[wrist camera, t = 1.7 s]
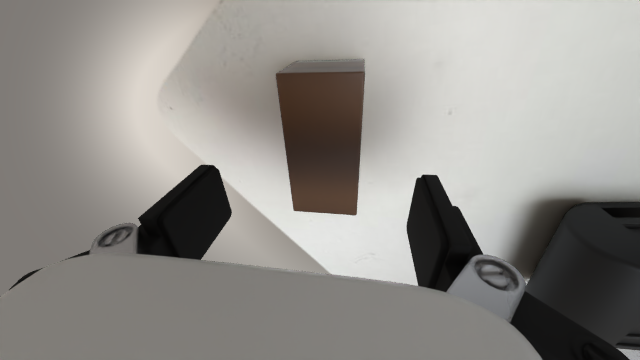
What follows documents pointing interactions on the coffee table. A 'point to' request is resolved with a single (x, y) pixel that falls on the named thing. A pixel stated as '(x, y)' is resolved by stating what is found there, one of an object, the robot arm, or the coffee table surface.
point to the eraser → (323, 132)
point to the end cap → (595, 271)
